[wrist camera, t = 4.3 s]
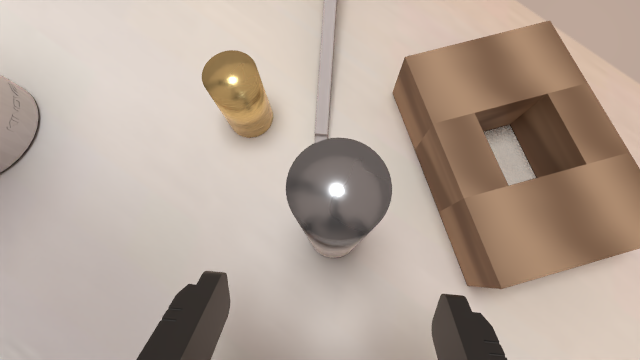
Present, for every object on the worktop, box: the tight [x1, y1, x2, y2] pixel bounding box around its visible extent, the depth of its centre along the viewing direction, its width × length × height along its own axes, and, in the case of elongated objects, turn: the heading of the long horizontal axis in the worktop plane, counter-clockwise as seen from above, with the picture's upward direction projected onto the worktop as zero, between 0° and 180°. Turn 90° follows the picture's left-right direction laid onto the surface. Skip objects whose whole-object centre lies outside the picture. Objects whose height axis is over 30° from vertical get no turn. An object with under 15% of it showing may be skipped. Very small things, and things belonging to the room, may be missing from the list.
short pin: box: [202, 51, 273, 138], centre depth 23 cm, size 4×4×6 cm
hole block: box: [393, 21, 640, 289], centre depth 22 cm, size 11×16×4 cm
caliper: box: [315, 0, 337, 143], centre depth 25 cm, size 20×1×6 cm, turn 176°
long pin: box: [286, 138, 392, 258], centre depth 17 cm, size 4×4×13 cm
